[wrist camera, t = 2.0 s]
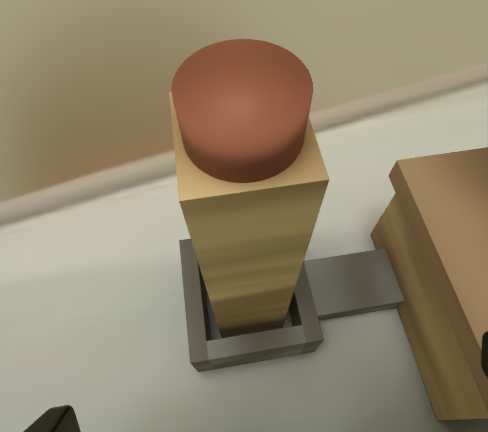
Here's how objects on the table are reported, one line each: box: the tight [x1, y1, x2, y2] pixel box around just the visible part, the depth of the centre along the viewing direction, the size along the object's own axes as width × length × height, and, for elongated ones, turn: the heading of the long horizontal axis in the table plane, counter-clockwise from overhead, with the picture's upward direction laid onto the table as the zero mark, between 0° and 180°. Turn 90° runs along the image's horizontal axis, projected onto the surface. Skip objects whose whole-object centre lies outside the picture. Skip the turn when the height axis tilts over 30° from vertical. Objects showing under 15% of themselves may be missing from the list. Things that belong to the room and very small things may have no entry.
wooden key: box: [169, 39, 329, 338], centre depth 14 cm, size 3×3×15 cm
